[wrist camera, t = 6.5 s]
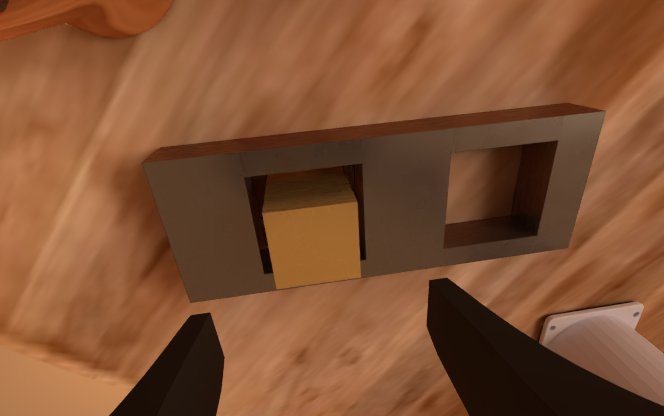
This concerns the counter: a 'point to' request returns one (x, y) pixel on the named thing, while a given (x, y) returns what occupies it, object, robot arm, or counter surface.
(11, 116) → the counter surface
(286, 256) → the golden brown block
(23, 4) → the beer glass
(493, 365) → the robot arm
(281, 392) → the counter surface
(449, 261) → the grey slotted board
